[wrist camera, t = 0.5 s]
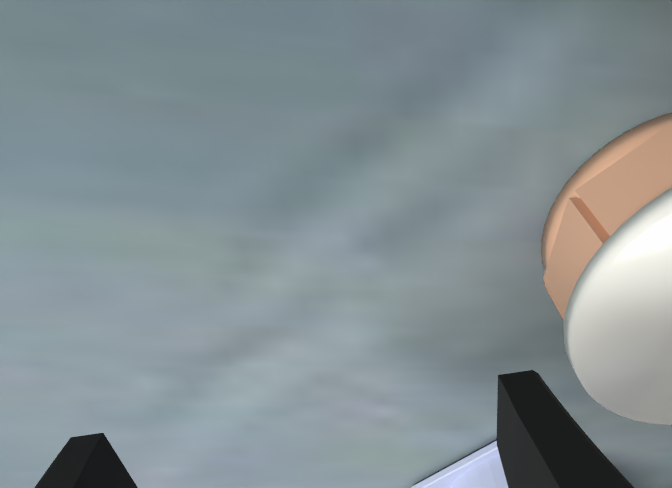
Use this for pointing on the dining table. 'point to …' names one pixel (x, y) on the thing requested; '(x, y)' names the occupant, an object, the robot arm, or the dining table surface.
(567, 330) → the lid
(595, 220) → the bowl
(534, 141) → the dining table surface
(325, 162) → the dining table surface
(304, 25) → the dining table surface
